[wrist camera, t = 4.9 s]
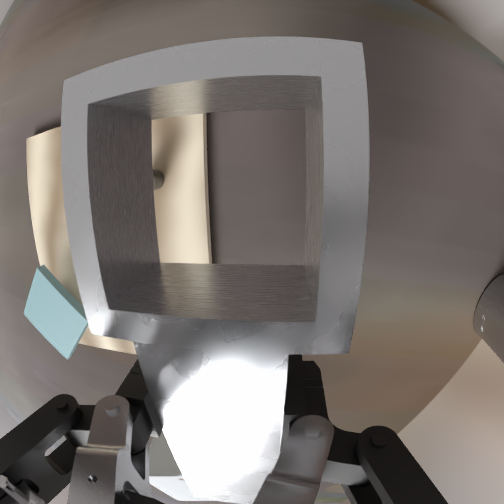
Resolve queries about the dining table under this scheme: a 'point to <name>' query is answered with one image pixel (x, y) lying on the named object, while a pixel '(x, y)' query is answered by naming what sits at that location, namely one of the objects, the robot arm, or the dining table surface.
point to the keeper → (55, 312)
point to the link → (217, 275)
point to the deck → (165, 198)
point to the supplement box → (167, 471)
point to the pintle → (157, 179)
